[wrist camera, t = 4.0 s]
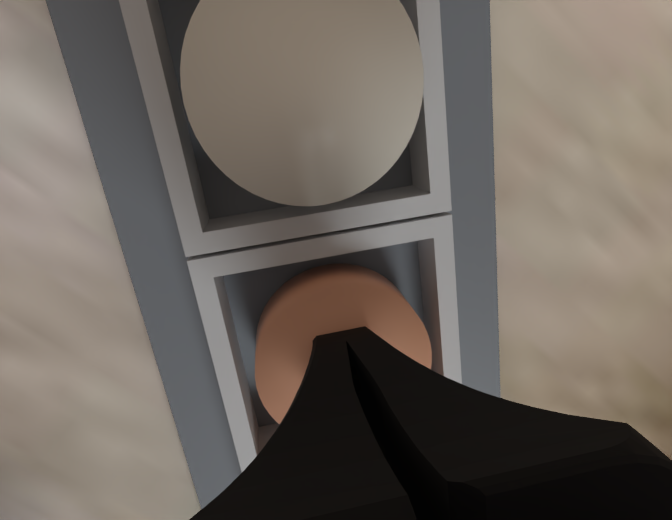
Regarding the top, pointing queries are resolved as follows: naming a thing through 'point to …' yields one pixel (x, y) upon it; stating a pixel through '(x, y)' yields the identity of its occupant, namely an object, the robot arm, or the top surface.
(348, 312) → the terracotta button
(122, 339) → the top surface
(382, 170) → the ivory button
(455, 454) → the robot arm
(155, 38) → the panel
